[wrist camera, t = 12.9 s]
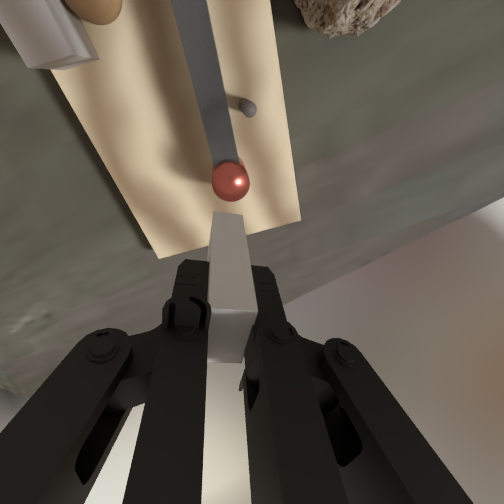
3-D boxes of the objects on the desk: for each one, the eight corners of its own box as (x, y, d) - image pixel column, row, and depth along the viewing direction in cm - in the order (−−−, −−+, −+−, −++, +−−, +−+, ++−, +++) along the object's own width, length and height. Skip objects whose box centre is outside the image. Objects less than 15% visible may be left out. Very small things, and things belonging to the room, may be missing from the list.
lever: (204, -48, 18) (201, -78, 15) (248, 183, 28) (252, 197, 25) (155, -38, 18) (141, -65, 15) (216, 190, 28) (217, 205, 25)
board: (237, -185, 17) (249, -323, 11) (296, 213, 34) (313, 240, 28) (-30, -96, 17) (-152, -184, 12) (161, 250, 34) (150, 284, 29)
